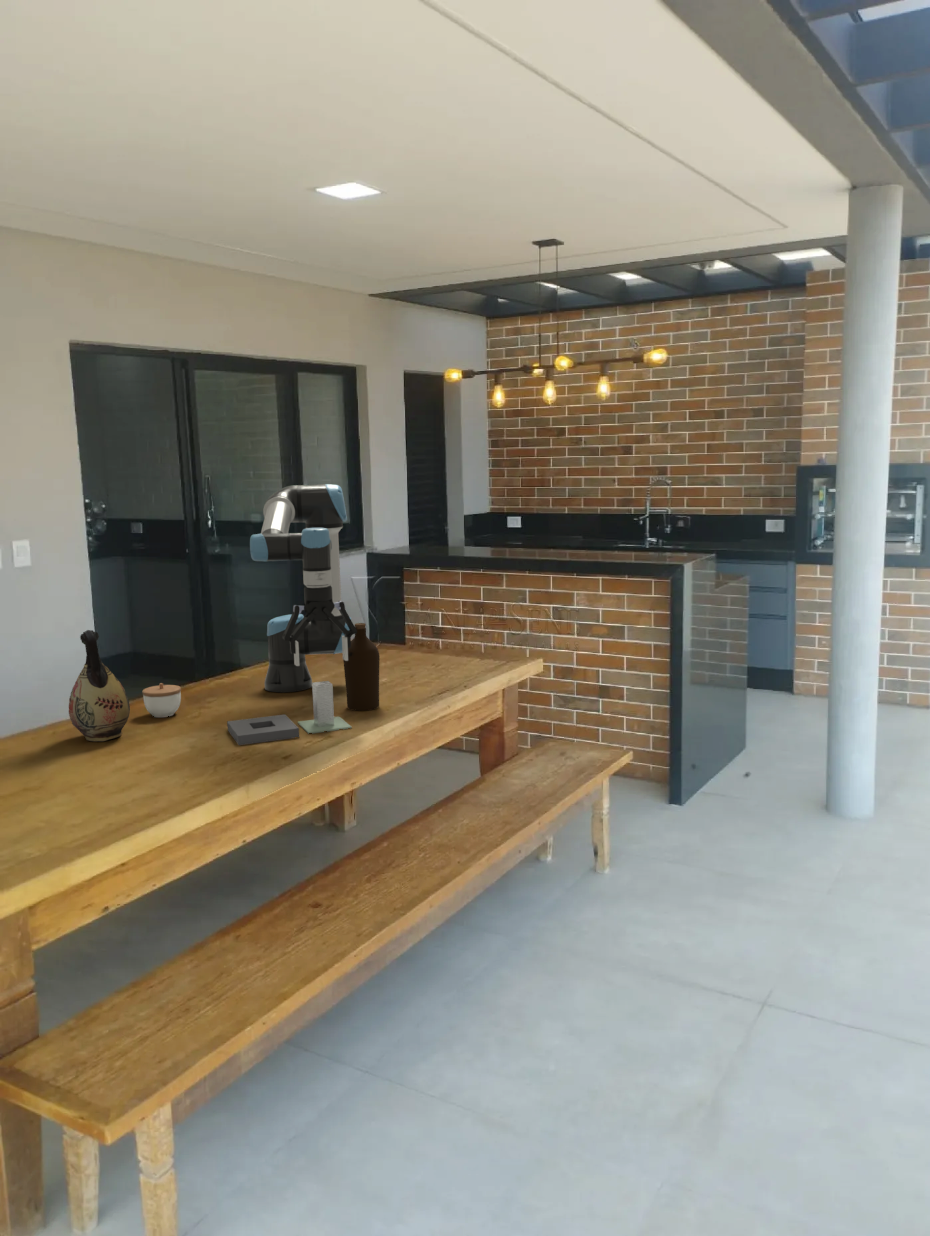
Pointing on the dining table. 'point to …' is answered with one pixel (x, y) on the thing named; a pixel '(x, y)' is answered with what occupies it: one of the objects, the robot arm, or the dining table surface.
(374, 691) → the olive oil
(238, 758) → the dining table surface
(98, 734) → the ceramic jug
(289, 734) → the pocket block
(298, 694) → the dining table surface
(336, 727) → the green mat
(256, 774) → the dining table surface
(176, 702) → the lidded jar
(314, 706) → the metal peg
